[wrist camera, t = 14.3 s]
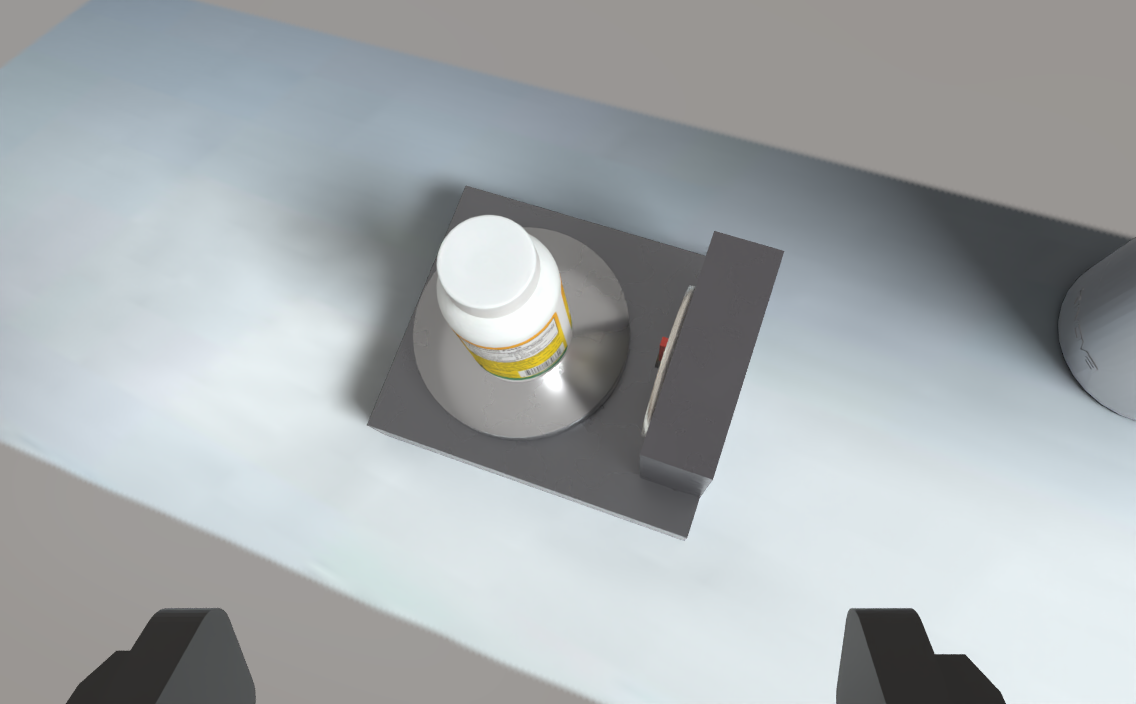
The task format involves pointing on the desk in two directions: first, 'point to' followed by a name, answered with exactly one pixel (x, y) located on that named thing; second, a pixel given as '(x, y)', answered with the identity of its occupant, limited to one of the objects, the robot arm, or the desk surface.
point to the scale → (596, 371)
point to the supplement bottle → (503, 298)
